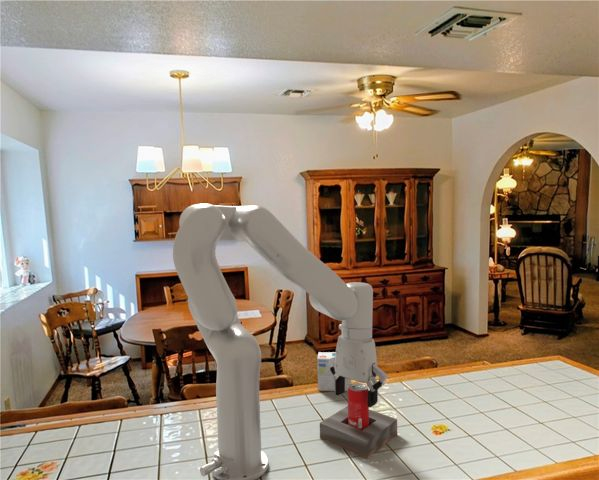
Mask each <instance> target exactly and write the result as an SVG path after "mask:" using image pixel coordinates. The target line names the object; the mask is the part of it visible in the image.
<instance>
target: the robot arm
mask: <svg viewBox="0 0 599 480" xmlns="http://www.w3.org/2000/svg"><path fill="white" fill-rule="evenodd" d="M178 224H179V226H178V227H179V228H178V229H177V232H176V234H175V238H174V241H173V246H172V260H173V264H174V268H175V270H176V273H177V276H178V278H179V280H180V282H181V284H182V287H183V290H184V292H185V293H186V294H185V295H186V296H187V298H188V299H187V306H188V309H189V310H188V311H189V312H190V316H191V317H192V319H193V321H194V323H195V325H196V326H197V329H198V331H199V333H200V335H201V337H202V339H203V341H204V343H205V344H206V346H207V349H208V350H209V352H210V353H211V355H212V357H213V359H214V360H215V362H216V383H215V394H216V395H215V396H216V397H215V398H216V402H215V403H216V414H217V415H216V420H217V421H216V425H217V445H218V446H217V448H218V449H217V451H215V452H214V456H213V457H214V458H213V459H212V460H211V461H210V462H209V463H206V464H205V465H203V466H201V467H199V473H200V475H201V476H202V477H206V476H207V475H210V474H212V476H213V477H214V478H216V479H217V480H257V479H259V478H260V477H262V476H263V475H264V474H265V473H266V472H267V470H268V468H269V458H268V455H267V454H266V453H265V452H264V451H262V439H261V438H262V436H261V435H262V433H261V405H260V404H261V402H260V374H261V373H260V372H261V363H262V352H261V347H260V345H259V342H258V341H257V339H256V338H255V336H254V334H252V333H251V332H250V331H249V330H248V329H246V328H245V327H244V326H243V325H242V322H241V320H240V318H239V317H238V304H237V300H236V298H235V296H234V294H233V293H232V291H231V288H230V287H229V285H228V283H227V281H226V278H225V277H224V275H223V272H222V271H221V267H220V264H219V263H218V259H217V256H216V249H217V244H218V243H219V242H246V243H247V244H248V245H249V246H250V247H251V248H252V249H253V250H254V251H255V252H256V253H257V254H258V255H259V256H260V257H262V258H263V260H264V261H265V262H267V264H269V266H270V267H271V268H272V269H274V270H275V272H276V273H277V274H278V275H280V276H281V277H282V278H284V279H285V280H286V281H289V282H290V283H293V284H294V285H296V286H297V287H298V288H300V289H302V290H303V291H305V292H306V293H307V294H308V301H309V304H310V305H311V307H312V308H313V309H314V310H315V311H318V312H319V313H321V314H323V315H325V316H327V317H329V318H331V319H333V320H337V321H341V323H340V324H339V325H338V330H341V334H340V335H338V338H337V343H336V348H335V352H336V355H335V357H333V358H330V359H328V364H329V367H330V371H331V372H332V374H333V378H334V379H335V390H336V391H334V392H335V396H340V395H343V394H344V393H345V392H346V391H345V378H348V379H351V381H355V382H357V383H362V384H365V385H367V387H368V390H369V391H368V402H367V406H368V407H369V408H372V407H374V406H375V405H377V403H378V394H379V389H380V388H382V386H384V385H385V383H386V381H387V379H388V378H389V377H388V374H387V373H386V372H384V370H383V369H381V368H380V366H378V362H377V361H378V360H377V350H376V349H377V348H376V343H375V339H374V338H373V313H374V312H373V306H374V305H373V304H374V303H373V302H374V301H373V299H374V296H373V295H374V290H373V286H372V285H371V284H370V283H366V282H359V281H358V282H357V281H353V282H347V283H346V282H345V281H344V280H343V279H342V278H341V277H340V276H339V275H338V274H337V273H336V272H335V271H334V270H332V269H331V268H330V267H329V266H328V265H326V264H325V263H324V262H323V261H322V260H320V259H319V258H318V257H317V256H316V255H315V254H314V253H312V252H311V251H310V250H308V249H307V248H306V247H305V246H304V245H303V244H302V243H301V242H300V241H299V240H298V239H297V238H296V237H295V235H293V233H292V232H290V231H289V230H288V229H287V227H286V226H285V225H284V224H283V223H282V222H281V221H280V220H279V219H278V218H277V217H276V216H275V215H274V214H273V213H272V212H271V211H270V210H269V209H267V208H266V207H263V206H261V205H239V206H238V205H233V206H232V205H216V204H215V205H214V204H211V203H197V204H191V205H190V206H187V207H186V208H185V209H183V211H182V212H181V214H180V217H179V221H178ZM377 377H378V378H379V379H378V380H377Z"/></svg>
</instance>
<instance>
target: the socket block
mask: <svg viewBox="0 0 599 480" xmlns="http://www.w3.org/2000/svg"><path fill="white" fill-rule="evenodd" d="M397 435H398V419H397V418H395V417H391V416H390V415H386V414H383V413H381V412H378V411H375V410H371V409H369V426H368V427H367V428H365V429H364V430H360V429H357V428H355V427H352V426H349V425H348V405H346V406H345V407H344V408H342V409H340V410H338V411H337V412H335V413H334V414H332V415H330V416H329V417H327V418H325V419H324V420H322V421H320V422H319V439H321V440H323V441H326V442H327V443H331V444H332V445H335V446H336V447H339V448H342V449H344V450H346V451H348V452H350V453H353V454H355V455H357V456H360V457H361V458H364V459H369V458H370V457H371V456H372V455H374V454H375V453H376V452H378V451H379V450H380V449H381V448H382V447H384V446H385V445H386V444H387V443H388V442H390V441H391V440H392V439H394V438H395V437H396V436H397Z"/></svg>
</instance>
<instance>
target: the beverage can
mask: <svg viewBox="0 0 599 480" xmlns="http://www.w3.org/2000/svg"><path fill="white" fill-rule="evenodd" d="M369 390H370V389H369V387H368V386H367V384H366V383H361V382H354V383H351V384H350V385H349V388H348V391H347V406H348V425H349V426H352V427H355V428H357V429H360V430H364V429H365V428H367V427H368V426H369V410H370V407H368V406H367V402H368V391H369Z"/></svg>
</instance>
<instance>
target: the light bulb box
mask: <svg viewBox="0 0 599 480" xmlns="http://www.w3.org/2000/svg"><path fill="white" fill-rule="evenodd" d="M335 355H336V351H335V352H334V351H332V352H330V351H328V352H327V351H326V352H324V351H323V352H321V351H318V354H317V357H316V358H317V360H316V361H317V362H316V363H317V391H318V392H325V391H327V392H335V391H336V390H335V379H334V378H333V374H332V372H331V371H330V367H329V364H328V359H330V358H333V357H335ZM350 384H352V380H351V379H348V378H345V392H348V388H349V385H350Z"/></svg>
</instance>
